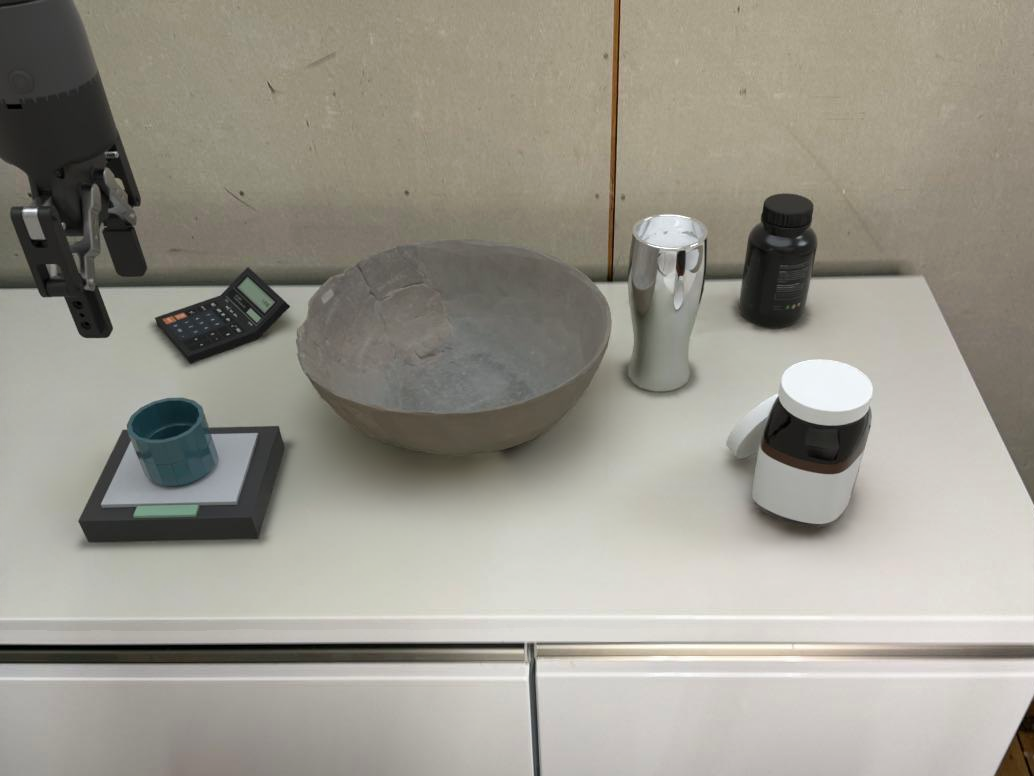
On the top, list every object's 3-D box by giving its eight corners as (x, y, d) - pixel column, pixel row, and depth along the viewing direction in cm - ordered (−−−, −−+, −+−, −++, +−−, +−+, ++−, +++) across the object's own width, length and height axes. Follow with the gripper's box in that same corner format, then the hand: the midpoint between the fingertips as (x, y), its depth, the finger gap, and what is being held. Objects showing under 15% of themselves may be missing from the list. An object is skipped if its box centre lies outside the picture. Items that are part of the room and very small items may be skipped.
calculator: (157, 324, 103) (148, 299, 100) (257, 290, 107) (251, 265, 105) (190, 363, 97) (182, 338, 95) (294, 325, 102) (288, 300, 100)
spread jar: (827, 551, 76) (858, 435, 68) (695, 506, 80) (709, 392, 72) (869, 465, 83) (901, 351, 75) (746, 428, 88) (764, 316, 79)
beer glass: (643, 402, 91) (653, 256, 80) (610, 364, 95) (616, 221, 85) (707, 384, 93) (725, 239, 82) (672, 348, 97) (685, 206, 87)
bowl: (372, 314, 103) (358, 227, 96) (627, 338, 99) (631, 248, 92) (270, 478, 84) (243, 384, 77) (580, 517, 79) (582, 420, 72)
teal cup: (137, 491, 79) (117, 443, 75) (157, 445, 83) (139, 398, 80) (209, 489, 79) (193, 441, 75) (226, 443, 83) (211, 396, 80)
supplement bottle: (810, 302, 103) (831, 194, 95) (795, 334, 99) (816, 224, 90) (747, 290, 105) (763, 183, 97) (730, 321, 101) (745, 212, 92)
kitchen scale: (88, 542, 79) (75, 517, 77) (131, 450, 87) (121, 425, 85) (258, 538, 78) (250, 513, 77) (284, 446, 87) (278, 422, 85)
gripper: (16, 35, 64) (96, 257, 76) (-81, 116, 54) (29, 359, 66) (127, 33, 64) (191, 256, 76) (52, 114, 54) (139, 357, 66)
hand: (116, 303), depth 71 cm, fingers open, 8 cm apart
